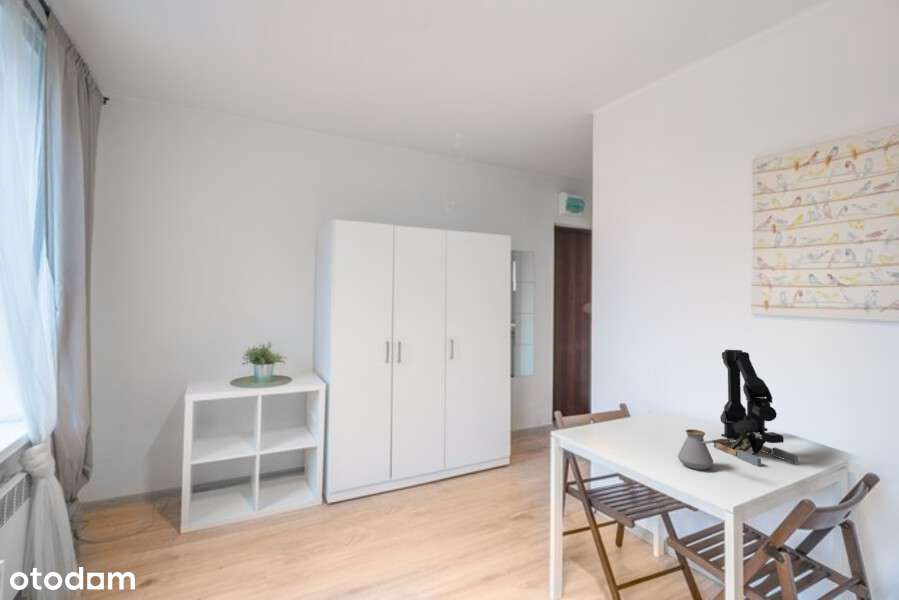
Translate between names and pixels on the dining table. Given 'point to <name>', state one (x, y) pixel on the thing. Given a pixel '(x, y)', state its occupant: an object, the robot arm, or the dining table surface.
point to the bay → (757, 460)
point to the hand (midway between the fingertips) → (755, 453)
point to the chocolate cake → (742, 445)
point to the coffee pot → (697, 450)
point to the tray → (725, 448)
